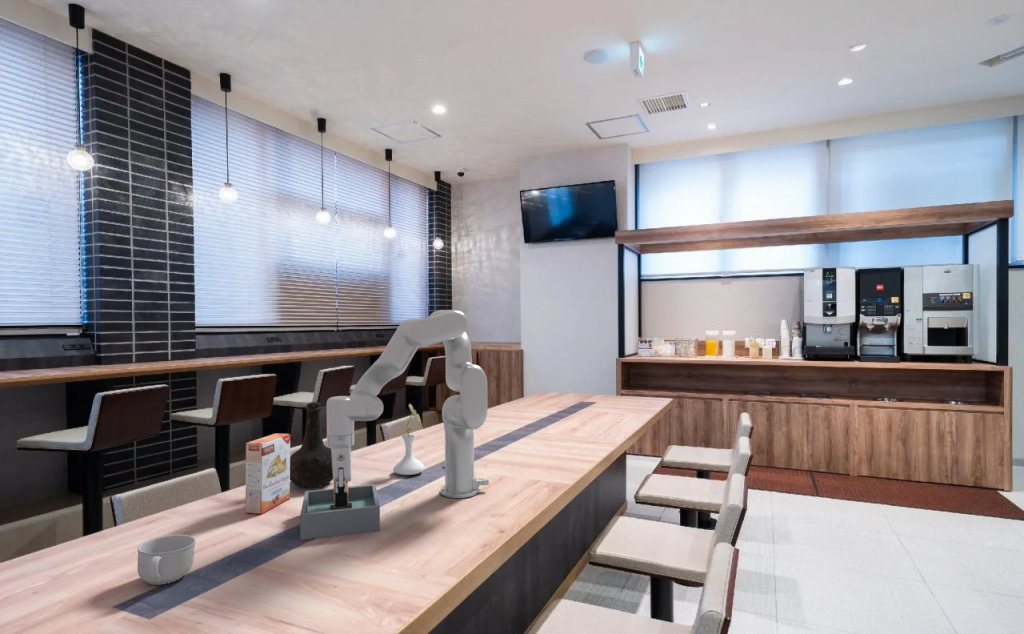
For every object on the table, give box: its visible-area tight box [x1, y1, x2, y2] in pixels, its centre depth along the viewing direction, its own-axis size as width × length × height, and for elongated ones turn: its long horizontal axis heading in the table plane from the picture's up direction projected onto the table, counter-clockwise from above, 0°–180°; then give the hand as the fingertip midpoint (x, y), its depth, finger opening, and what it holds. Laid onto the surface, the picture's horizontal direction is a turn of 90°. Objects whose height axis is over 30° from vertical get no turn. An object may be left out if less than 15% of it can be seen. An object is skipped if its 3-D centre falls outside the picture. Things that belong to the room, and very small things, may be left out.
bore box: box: [299, 484, 381, 541], centre depth 152 cm, size 20×20×6 cm
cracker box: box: [245, 433, 291, 515], centre depth 165 cm, size 14×6×21 cm, turn 168°
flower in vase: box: [392, 403, 425, 476], centre depth 199 cm, size 13×11×25 cm
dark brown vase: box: [290, 402, 333, 489], centre depth 186 cm, size 18×18×28 cm
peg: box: [333, 479, 349, 510], centre depth 155 cm, size 4×4×10 cm
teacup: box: [137, 534, 196, 586], centre depth 118 cm, size 14×11×8 cm
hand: (341, 502), depth 155 cm, fingers closed on peg, 4 cm apart
